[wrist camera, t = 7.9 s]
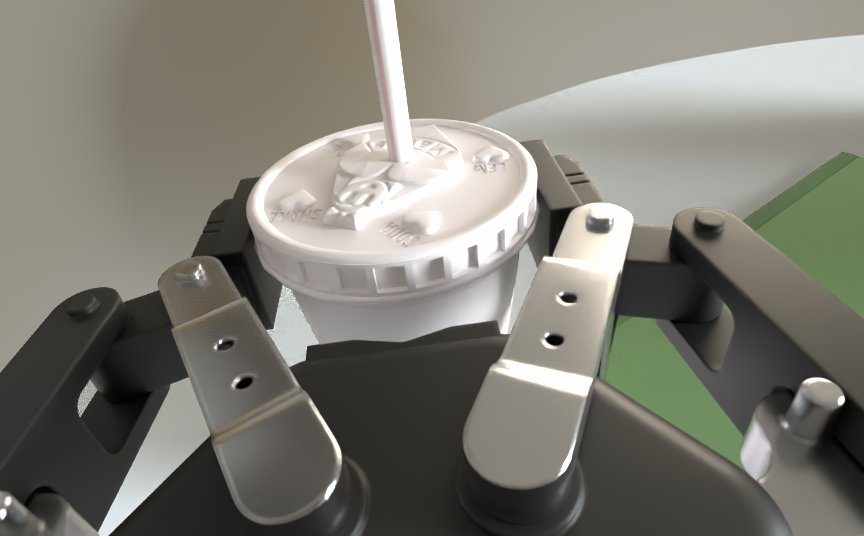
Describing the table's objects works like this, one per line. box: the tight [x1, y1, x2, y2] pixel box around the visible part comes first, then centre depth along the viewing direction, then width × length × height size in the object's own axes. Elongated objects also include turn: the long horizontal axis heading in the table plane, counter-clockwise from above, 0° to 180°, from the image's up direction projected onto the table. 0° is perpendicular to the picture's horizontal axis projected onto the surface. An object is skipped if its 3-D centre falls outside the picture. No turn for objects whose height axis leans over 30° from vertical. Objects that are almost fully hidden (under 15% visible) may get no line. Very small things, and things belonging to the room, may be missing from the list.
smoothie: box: [246, 0, 540, 344], centre depth 13 cm, size 6×6×14 cm
